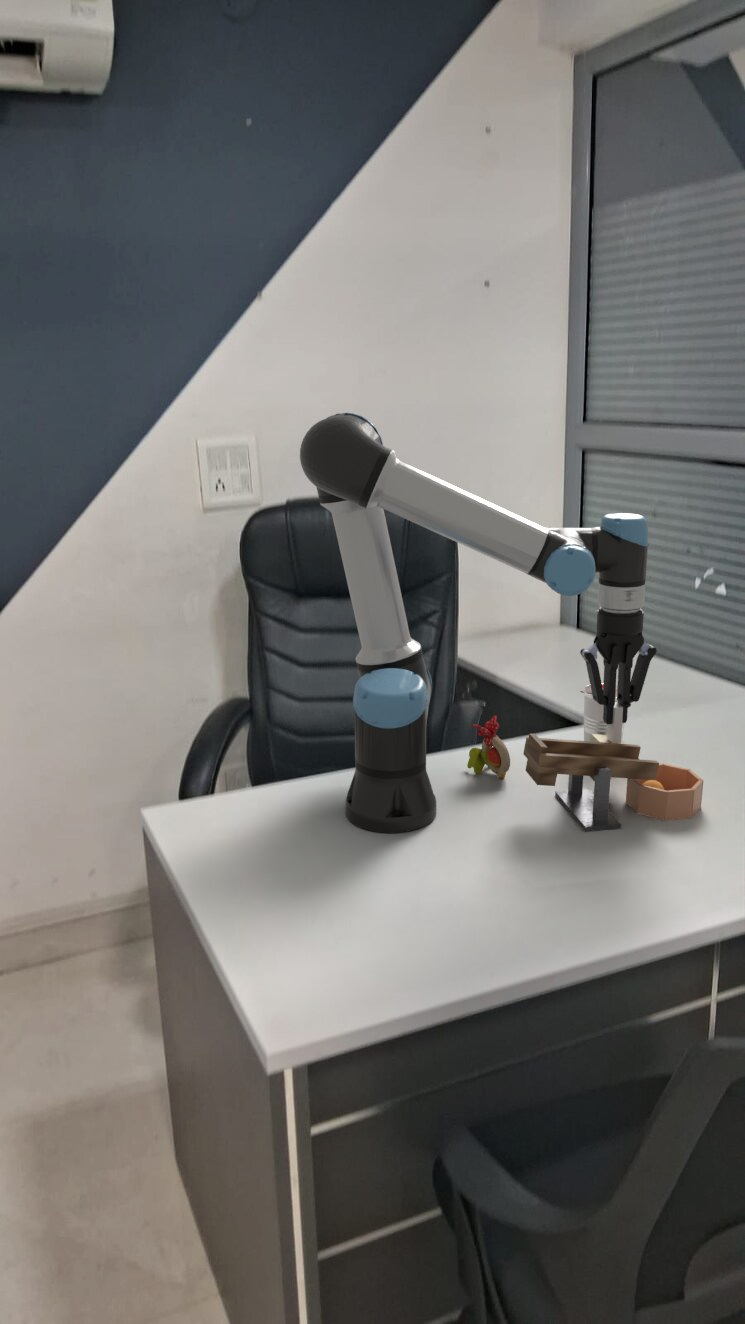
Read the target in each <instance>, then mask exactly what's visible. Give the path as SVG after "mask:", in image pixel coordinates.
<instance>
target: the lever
mask: <svg viewBox="0 0 745 1324" xmlns="http://www.w3.org/2000/svg"><path fill="white" fill-rule="evenodd" d="M590 741H591V742H590ZM590 741H584V740H571V739H562V738H561V739H559V738H545V737H539V736H538V735H537V734H536V733H529V735H528V736H527V737H526V738H525V743H524V747H523V748H524V749H523V755H524V756H525V758H526V759H527V761H526V764H525V765H526V766H525V770H524V771H526V773H527V775H528V776H529V777H530V779H532V780H533V781H534V783H535V784H536V785H537V786H547V787H548V786H549V787H555V786H556V784H557V783H556V782H557V777H558V775H565V776H566V775H568V776H569V775H581V776H583V777H584V776H586V777H590V779H592V781H593V783H595V767H605V766H608V767H609V768H610V769H611V778H615V779H627V778H629V779H645V780H655V779H656V775H657V771H658V766H659V764H660V762H659V761H658V760H653V759H651V760H649V759H640V758H639V756H640V753H641V746H640V745H639V744H631V743H630V744H629V743H626V742H625V741H624V740H623V738H622V739H621V743H612V742H611V741H609V740H608V739H607V735H599V734H591V737H590Z"/></svg>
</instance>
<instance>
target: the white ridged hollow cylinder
mask: <svg viewBox="0 0 745 1324" xmlns="http://www.w3.org/2000/svg"><path fill="white" fill-rule="evenodd" d="M601 683H602V682H601ZM603 683H604V682H603ZM603 683H602V688H603ZM617 687H618V684H616V692H615V702H617V703H618V701H617ZM582 690H583V691H581V690H580V693H582V694H584V695H583V741H590V737H591V734H599V735H607V724H606V723H605V722H604V720H603V708H604V705H600V704H599V703H597V702H596V701H595V700H594V699H593V695H592V691H591V686H590V684H588V685H585V686H584V687H583V688H582ZM624 729H625V723H622V736H621V739H622V740H623V735H624ZM590 742H591V741H590Z"/></svg>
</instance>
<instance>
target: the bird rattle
mask: <svg viewBox="0 0 745 1324" xmlns="http://www.w3.org/2000/svg"><path fill="white" fill-rule="evenodd" d="M497 719H498V716H497V715H493V716H492V717H491V718H490V720H488V721H486V722H485V726H484V727H482V726H480V725H478V724H474V723H473V724H472V727H473V728H476V729H478V730H477V735H478V736H479V737H483V741H482V742H481V743H482V744H481V748H479V747H472V748H471V749H470V750H469V754H468V757H469V759H468V761H467V765H466V766H467V768H468V769H471V768H473V772H474V773H475V774H477V775H478V774H482V772H483V770H484V766H485V765H486V766H487V768H488V769H489V770H490V771H491V772H493V773H494V774H495V775H496V776H497V777H498V778H499V779H503V778H505V777H506V774H507V773H508V771H509V770H510V767H511V756H510V752H509V750H508V748H507V745H505V743H504V741H503V740H502V739H501V738H500V737H499V735H497V734H496V733H497V732H498V730H499V728H500V725H499V723H498V722H497Z"/></svg>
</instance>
